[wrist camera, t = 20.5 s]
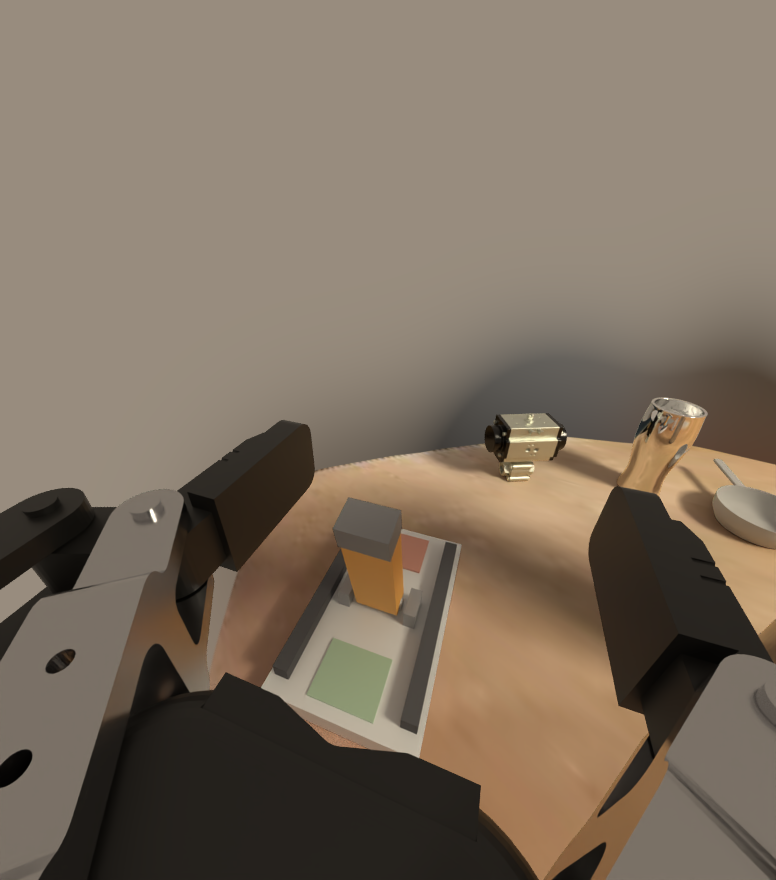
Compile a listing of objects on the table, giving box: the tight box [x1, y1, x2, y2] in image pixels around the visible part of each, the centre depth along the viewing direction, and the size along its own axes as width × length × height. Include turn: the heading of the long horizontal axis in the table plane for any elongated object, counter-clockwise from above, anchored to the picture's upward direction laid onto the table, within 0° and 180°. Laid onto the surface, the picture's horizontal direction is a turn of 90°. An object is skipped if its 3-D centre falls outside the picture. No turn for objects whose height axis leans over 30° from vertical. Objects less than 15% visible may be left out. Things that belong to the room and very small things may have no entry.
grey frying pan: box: [712, 459, 776, 549], centre depth 52 cm, size 11×18×4 cm, turn 166°
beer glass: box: [617, 398, 707, 496], centre depth 53 cm, size 7×7×15 cm
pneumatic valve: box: [485, 413, 567, 481], centre depth 56 cm, size 6×12×12 cm, turn 95°
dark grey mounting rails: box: [273, 542, 457, 734], centre depth 36 cm, size 19×13×1 cm
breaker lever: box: [333, 497, 404, 616], centre depth 31 cm, size 3×5×15 cm, turn 71°
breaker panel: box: [261, 529, 462, 758], centre depth 36 cm, size 22×14×4 cm, turn 161°
